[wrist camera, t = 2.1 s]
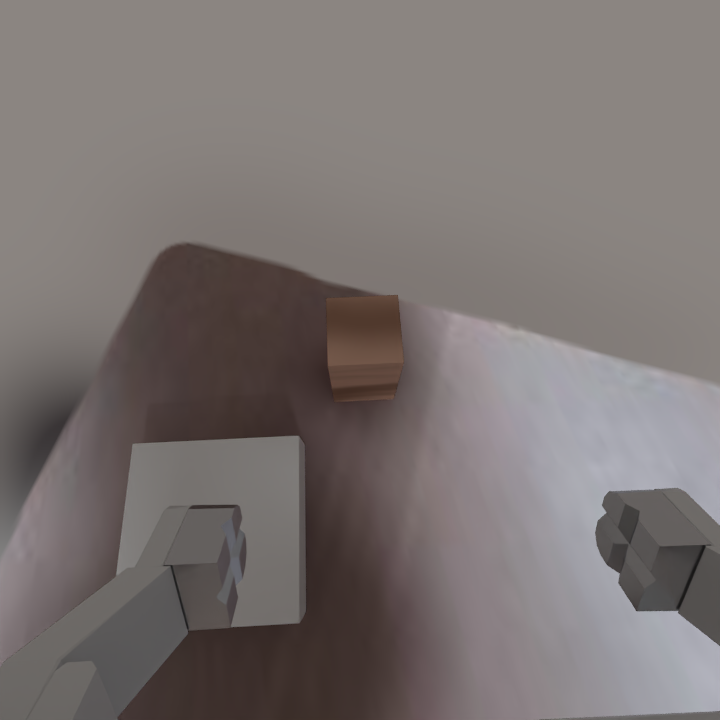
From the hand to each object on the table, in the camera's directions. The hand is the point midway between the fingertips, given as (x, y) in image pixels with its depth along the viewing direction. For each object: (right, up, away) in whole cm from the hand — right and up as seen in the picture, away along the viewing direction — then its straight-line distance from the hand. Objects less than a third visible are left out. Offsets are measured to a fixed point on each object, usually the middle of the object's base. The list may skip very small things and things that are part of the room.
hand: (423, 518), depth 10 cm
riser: (-12, -9, +24) cm, 28 cm away
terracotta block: (-1, +3, +29) cm, 29 cm away
